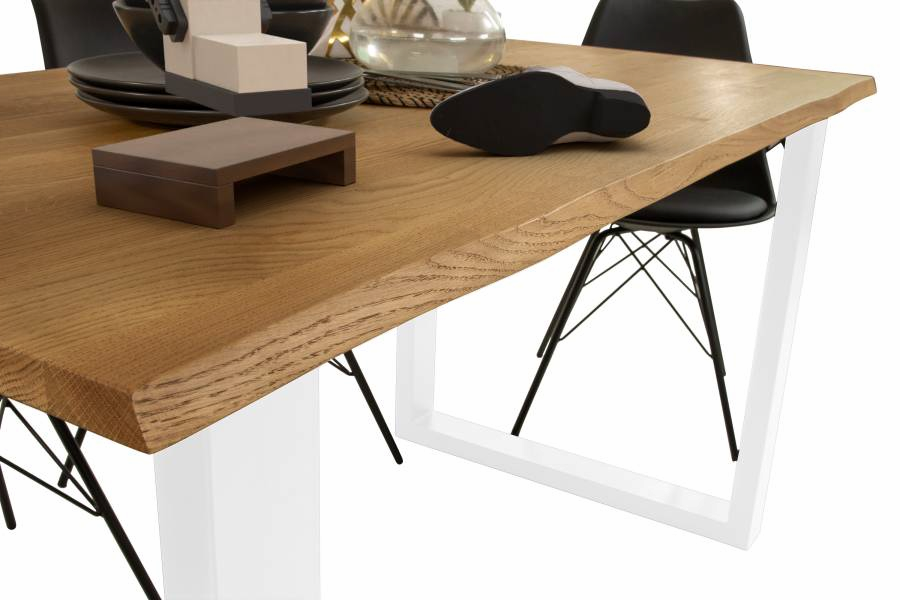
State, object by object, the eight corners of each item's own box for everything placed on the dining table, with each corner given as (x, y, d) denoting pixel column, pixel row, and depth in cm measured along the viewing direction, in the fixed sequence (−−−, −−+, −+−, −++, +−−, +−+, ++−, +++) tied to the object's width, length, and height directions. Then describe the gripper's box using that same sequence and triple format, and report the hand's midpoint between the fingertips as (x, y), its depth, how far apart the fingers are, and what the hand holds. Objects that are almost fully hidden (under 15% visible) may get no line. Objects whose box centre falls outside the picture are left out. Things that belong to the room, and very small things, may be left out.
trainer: (312, 110, 68) (309, -13, 65) (235, 117, 65) (229, -13, 62) (235, 87, 77) (230, -23, 74) (165, 92, 74) (157, -22, 71)
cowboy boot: (672, 82, 114) (587, 58, 137) (439, 64, 106) (389, 41, 129) (658, 164, 117) (577, 127, 140) (430, 152, 109) (383, 115, 132)
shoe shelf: (356, 182, 99) (355, 131, 97) (219, 229, 82) (216, 168, 81) (244, 164, 105) (242, 116, 103) (96, 204, 89) (90, 148, 87)
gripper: (56, -196, 69) (132, -2, 64) (249, -179, 77) (330, -5, 72) (42, -111, 74) (111, 73, 70) (223, -103, 83) (296, 62, 78)
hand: (222, 32), depth 71 cm, fingers closed on trainer, 5 cm apart
